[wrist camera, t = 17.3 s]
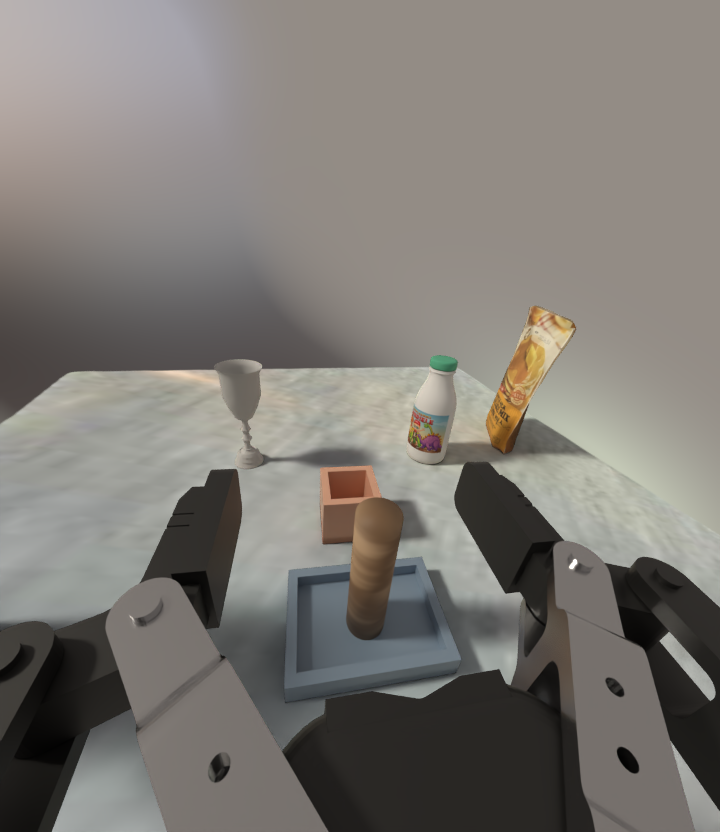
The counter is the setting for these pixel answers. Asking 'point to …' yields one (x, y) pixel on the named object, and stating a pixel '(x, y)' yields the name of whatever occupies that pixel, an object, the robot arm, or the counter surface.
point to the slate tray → (354, 658)
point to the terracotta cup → (343, 499)
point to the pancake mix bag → (526, 373)
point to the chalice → (242, 402)
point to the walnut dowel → (372, 565)
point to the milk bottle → (433, 413)
